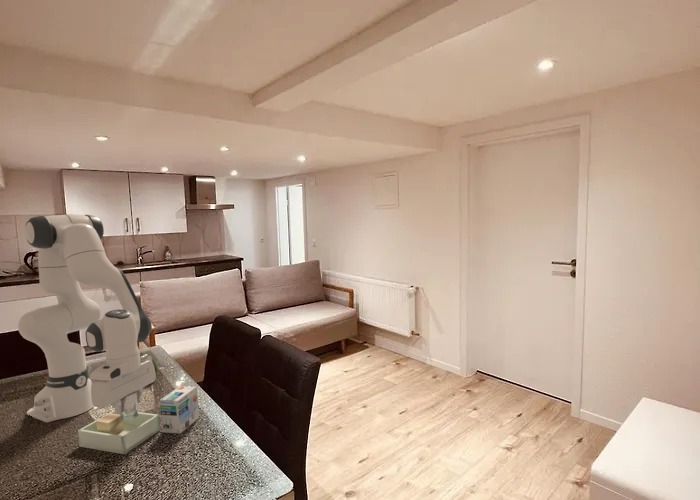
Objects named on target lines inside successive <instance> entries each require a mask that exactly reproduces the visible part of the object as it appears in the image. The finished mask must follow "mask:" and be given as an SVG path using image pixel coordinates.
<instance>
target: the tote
mask: <svg viewBox="0 0 700 500" xmlns="http://www.w3.org/2000/svg"><path fill="white" fill-rule="evenodd" d="M110 413H112V414H116V413H115V409H114V410H113V411H111V412H109V413H106V414H105V415H104V416H106V415H108V414H110ZM104 416H101V417H100V418H98V419H96V420H94V421H92V422H90V423H89V424H87V425H85V426H83V427H82V428H80V429H78V430H77V436H78V437H77V438H78V445H79V447H80V448H86V449H92V450H96V451H97V450H98V451H103V452H109V453H114V454H115V453H116V454H119V455H127V454H128V453H129V452H131V451H132V450H133V449H136V447H138V446H140V445H141V444H142V443H144V442H145V441H146V440H148V439H150V438H151V437H152V436H154V435H155V434H156V433H158V432H159V431H162V429H161V428H162V427H161V419H160V418H161V417H160V414H159V413H158V414H155V413H150V412H149V413H148V412H141V411H139V415H138V416H137V417H136V418H133V419H131V420H126V421H123V425H124V430H123V431H122V432H120V433H118V434H117V435H114V434H108V433H101V432H97V425H96V421H97V420H99V419H101V418H103V417H104Z"/></svg>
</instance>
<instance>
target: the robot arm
mask: <svg viewBox="0 0 700 500" xmlns="http://www.w3.org/2000/svg"><path fill="white" fill-rule="evenodd" d="M104 229H105V228H104V225H103V222H102V220H101V219H100V218H99V217H97V216H96V215H92V214H84V215H83V214H68V213H67V214H57V215H55V214H54V215H46V216H45V215H38V216H33V217H31V218H29V219H28V220H27V222H26V223H25V228H24V235H25V239H26V241H27V243H28V244H29V245H30V246H32V247H33V248H37V249H38V255H37V258H38V259H37V260H38V261H37V262H38V265H37V266H38V276H39V277H38V280H39V287H40V289H41V290H42V291H43V292H44V293H46V294H50V295H52V296H55V297H56V299H57V304H53V305H48V306H44V307H39V308H36V309H33V310H30V311H28V312H26V313H24V314H23V315H22V316H21V317H20V319H19V321H18V325H17V328H18V332H19V334H20V336H22V338H23V339H25V340H27V341H29V342H31V343H34V344H35V345H37V346H38V348H40V349H41V350H42V352H43V353H44V357H45V359H46V363H47V369H48V375H46V376H44V380H45V381H46V385H45V386H44V387H43V389H41V390H40V391H39V392H38V393H36V395H35V396H34V402H33V403H34V404H33V405H34V406H33V407H31V408H30V409H28V410H27V411H26V415H27V416H29V415H30V417H31V416H32V417H31V418H34V419H37V420H39V421H42V422H44V423H50V422H53V421H57V420H61V419H62V420H63V419H67V418H72V417H75V416H79V415H81V414H83V413H86V412H88V411H89V410H91V409H93V408H94V407H95V408H99V409H102V408H103V409H104V408H107V407H108V406H110V405H111V406H112V408H113V409H114V410H115V413H116V414H121V413H122V412H124V410H123V409H124V408H123V406H120V405H119V404H118V403H120V399H122V398H123V397H125V396H127V395H129V394H131V393H133V392H135V391H136V392H137V402H138V404H140V403H142V399H141V398H142V395H143V392H144V387H147V386H149V385H150V384H152V383H154V382H155V381H156V378H157V375H156V373H155V369H154V365H153V363H152V358H153V357H152V355H150V354H149V355H147V354H148V353H145V354H146V355H143V356H142V357H140V356H141V353H140V349H139V346H138V344H139V343H143V342H145V341H146V340H147V339H148V337H149V336H150V335H151V332H152V329H153V325H152V322H151V319H150V317H149V316H148V315H147V313H146V312H145V310H144V309H143V308H142V305H141V304H140V301H139V299H138V298H137V296H136V294H135V291H134V289H133V287H132V286H131V284H130V281H129V280H128V278H127V276H126V275H125V273H124V272H123V270H122V269H121V268H119V267H116V266H114V264H112V262H111V261H110V259H108V257H107V254H106V250H105V247H104V245H103V243H102V239H103V237H104V233H105V232H104ZM80 283H81V284H83V285H89V286H94V287H101V288H103V289H104V288H105V289H107V290H110V291H111V292H113V294H115V296H116V297H117V299H118V302H119V303H120V305H121V308H122V309H119V308H118V309H112V310H110V311H107V312H105V313H104V315H103V316H102V318H101V314H102V313H101V312H102V311H101V308H100V305H99V304H98V303H97V302H96V301H95V300H94V299H91V298H89V297H88V296H87V295H86V293H84V291H83V290H82V289H83V288H82V287H81V284H80ZM85 329H86V330H85ZM81 330H85V333H84V334H85V340H86V341H85V342H86V346H87V347H88V348H89V349H90V350H92V351H95V352H105V360H104V362H102V364H101V365H99V366H98V367H96V368H95V369H94V370H93V371H92V372H91V373H90V374H89V372H90V371H89V367H87V361H86V351H85V348H84V347H83V346H82V345H81V344H79V343H78V342H77V343H76V342H72V341H70V340H69V337H68V334H71V333H74V332H78V331H81ZM148 356H149V357H148ZM89 377H90V378H89ZM92 380H93V381H92Z"/></svg>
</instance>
